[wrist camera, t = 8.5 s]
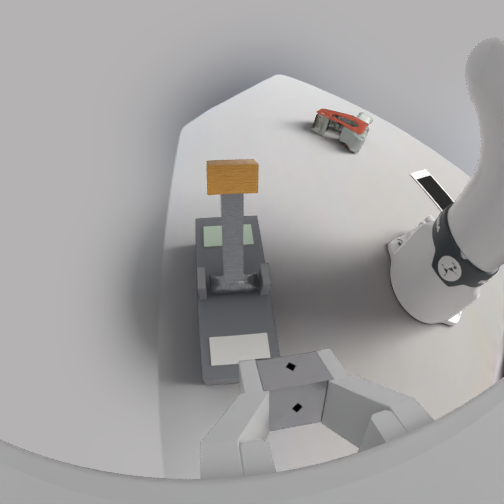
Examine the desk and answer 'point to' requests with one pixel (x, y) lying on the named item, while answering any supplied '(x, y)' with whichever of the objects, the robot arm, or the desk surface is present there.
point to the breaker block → (232, 305)
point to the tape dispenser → (344, 127)
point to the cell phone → (432, 189)
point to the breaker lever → (232, 221)
